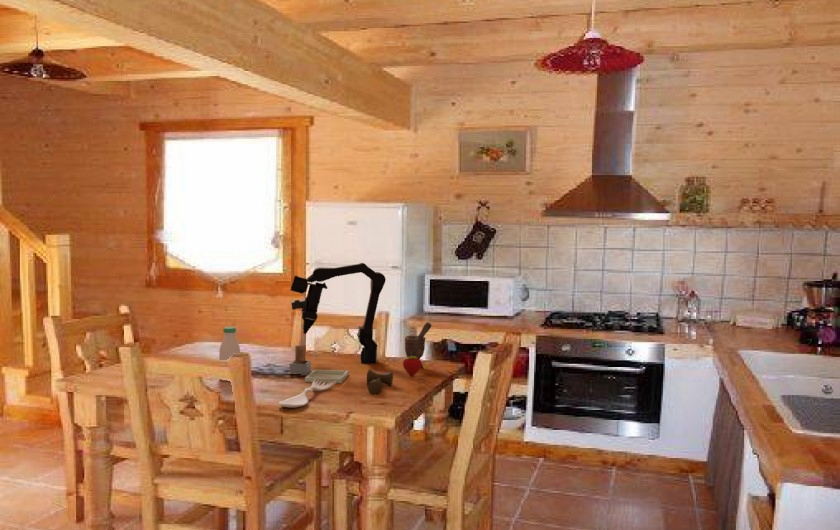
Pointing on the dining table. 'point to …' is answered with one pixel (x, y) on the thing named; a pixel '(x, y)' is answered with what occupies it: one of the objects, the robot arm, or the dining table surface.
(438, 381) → the dining table surface
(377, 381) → the kendama
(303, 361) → the walnut dowel
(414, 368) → the strawberry
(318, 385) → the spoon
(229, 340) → the milk bottle
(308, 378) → the sage tray
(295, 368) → the stoneware holder
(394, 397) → the dining table surface
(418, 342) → the mortar and pestle
